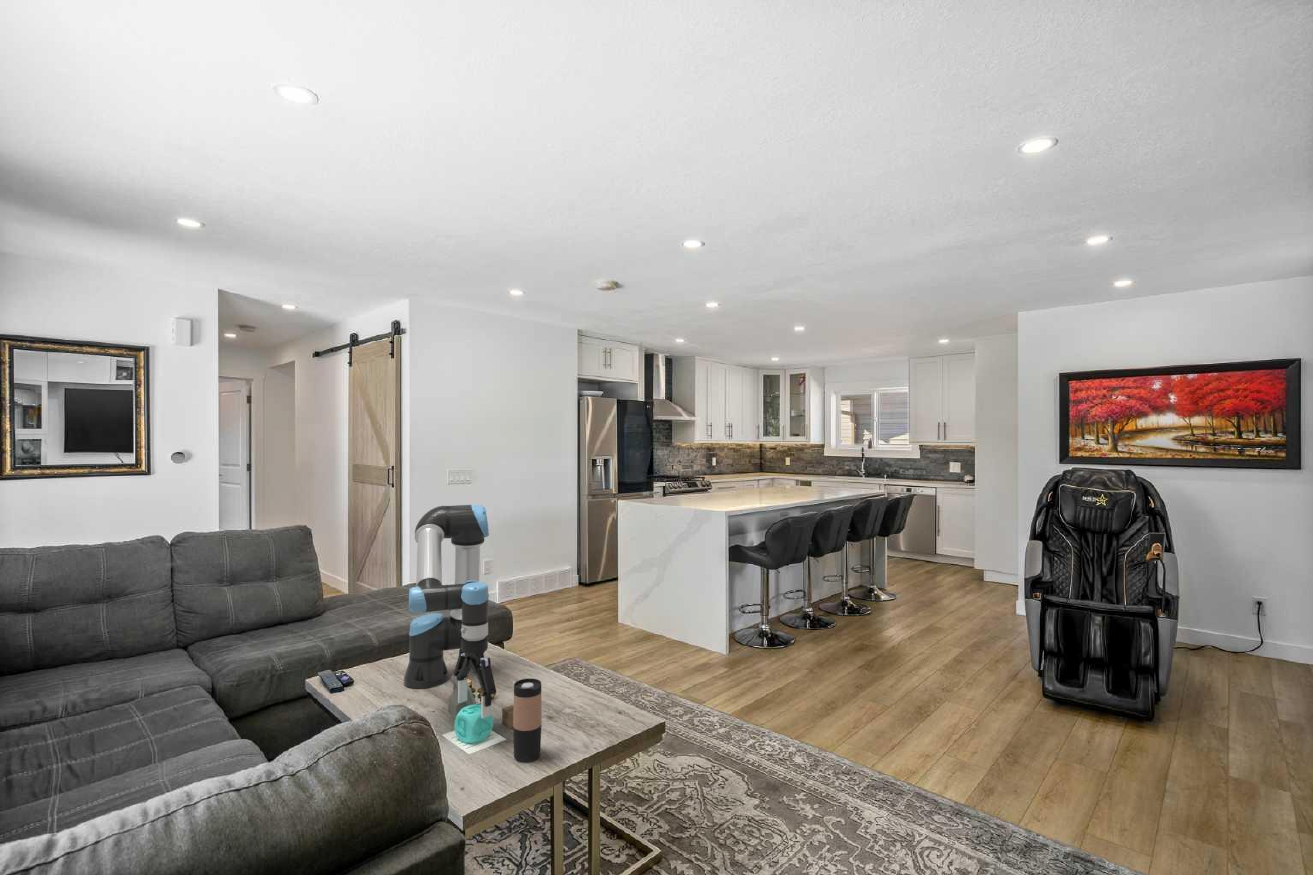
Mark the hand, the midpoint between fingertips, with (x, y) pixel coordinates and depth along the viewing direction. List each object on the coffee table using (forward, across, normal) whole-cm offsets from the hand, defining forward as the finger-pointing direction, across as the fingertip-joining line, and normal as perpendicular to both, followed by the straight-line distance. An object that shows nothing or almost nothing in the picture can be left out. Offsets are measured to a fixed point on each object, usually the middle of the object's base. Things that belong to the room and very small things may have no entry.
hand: (474, 708), depth 181 cm
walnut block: (+8, +1, +12) cm, 15 cm away
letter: (+8, +1, 0) cm, 8 cm away
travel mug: (+8, +21, +5) cm, 23 cm away
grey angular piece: (+9, -17, +6) cm, 20 cm away
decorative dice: (+8, +1, 0) cm, 8 cm away
